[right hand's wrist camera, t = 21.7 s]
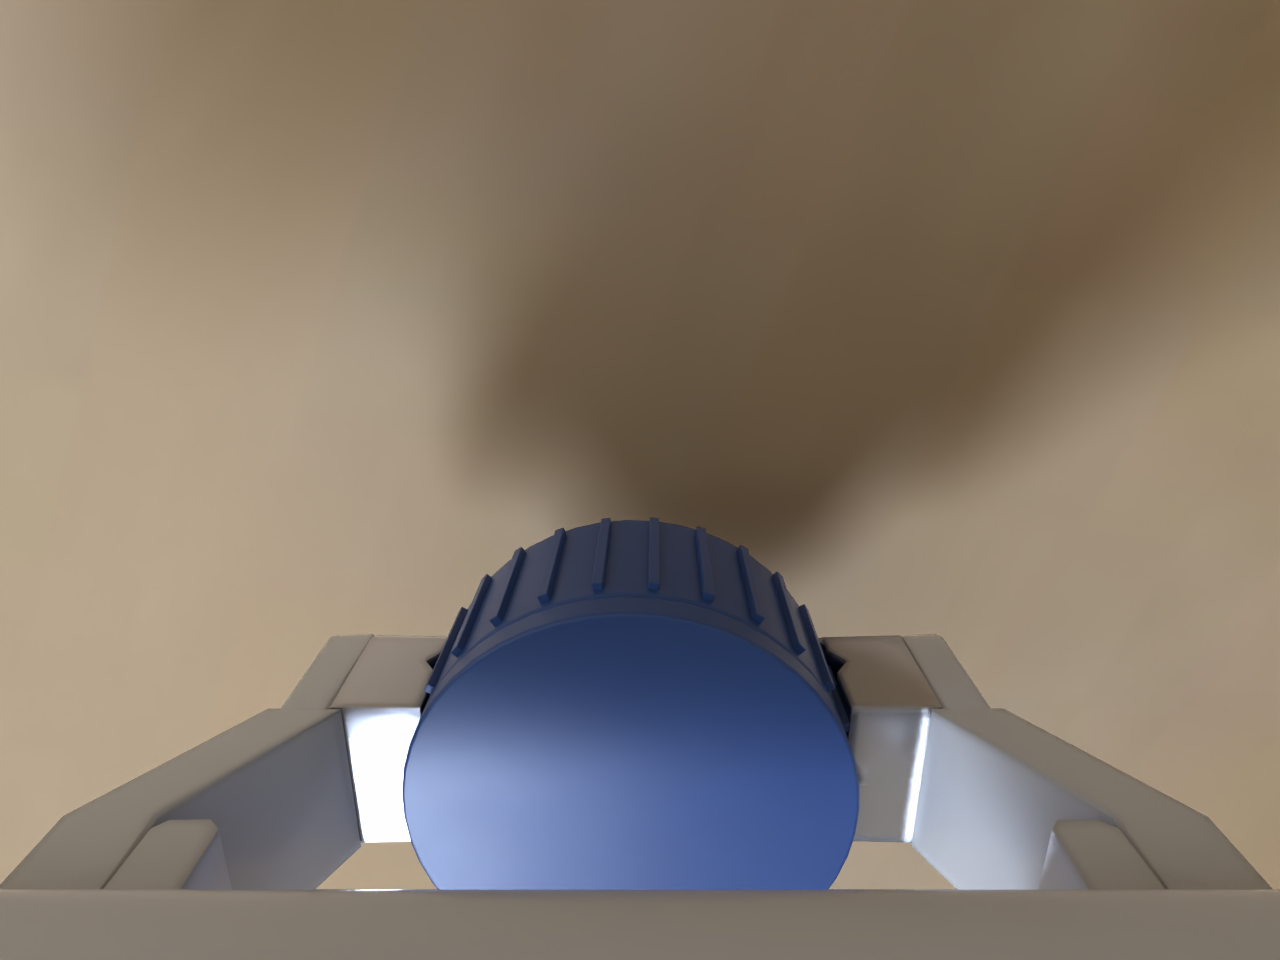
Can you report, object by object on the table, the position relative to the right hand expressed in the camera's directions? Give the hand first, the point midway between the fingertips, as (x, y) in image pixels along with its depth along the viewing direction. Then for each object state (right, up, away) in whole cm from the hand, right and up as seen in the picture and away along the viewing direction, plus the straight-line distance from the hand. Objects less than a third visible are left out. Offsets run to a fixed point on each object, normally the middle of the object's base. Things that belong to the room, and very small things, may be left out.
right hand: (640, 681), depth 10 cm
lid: (0, -1, -2) cm, 2 cm away
